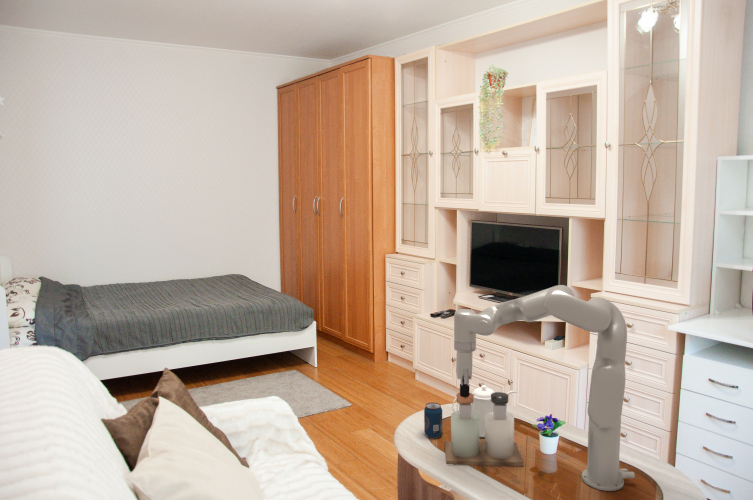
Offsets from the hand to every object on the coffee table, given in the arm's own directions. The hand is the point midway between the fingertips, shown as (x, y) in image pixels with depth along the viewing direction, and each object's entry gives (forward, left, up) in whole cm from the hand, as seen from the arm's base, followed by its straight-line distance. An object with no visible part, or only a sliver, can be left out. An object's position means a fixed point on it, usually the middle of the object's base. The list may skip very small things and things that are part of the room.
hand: (464, 395), depth 196 cm
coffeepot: (-9, -18, -23) cm, 30 cm away
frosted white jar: (-12, 0, -21) cm, 24 cm away
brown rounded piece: (0, 0, -8) cm, 8 cm away
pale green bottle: (0, 0, -21) cm, 21 cm away
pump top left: (-12, 0, -8) cm, 14 cm away
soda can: (+11, -15, -23) cm, 29 cm away
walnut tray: (-6, 0, -22) cm, 23 cm away
